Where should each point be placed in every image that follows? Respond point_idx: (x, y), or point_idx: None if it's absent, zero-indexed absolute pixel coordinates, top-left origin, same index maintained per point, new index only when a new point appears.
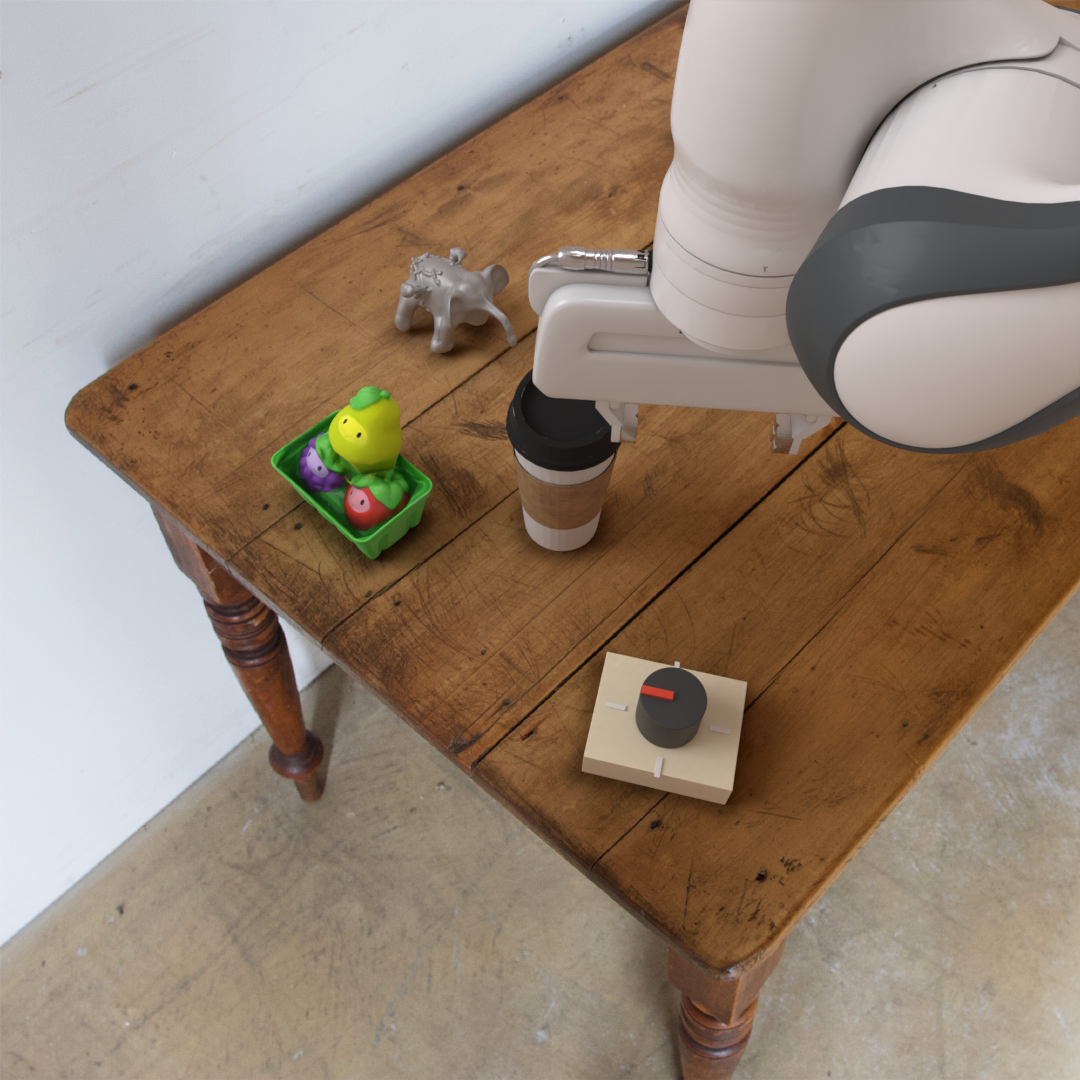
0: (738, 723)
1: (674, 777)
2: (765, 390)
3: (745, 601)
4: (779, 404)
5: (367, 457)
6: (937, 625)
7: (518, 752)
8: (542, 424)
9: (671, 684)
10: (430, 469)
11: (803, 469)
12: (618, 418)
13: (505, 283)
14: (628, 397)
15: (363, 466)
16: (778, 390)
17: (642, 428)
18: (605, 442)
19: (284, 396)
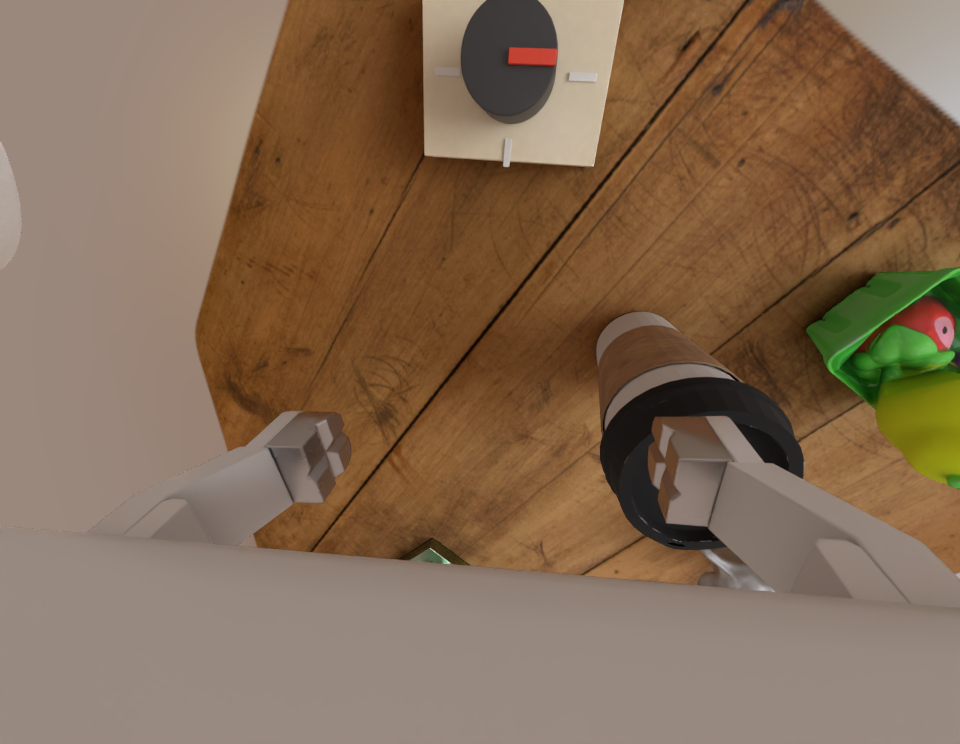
0: (427, 89)
1: None
2: (123, 726)
3: (444, 278)
4: (142, 602)
5: None
6: (276, 278)
7: (705, 7)
8: None
9: (512, 81)
10: (780, 392)
11: (410, 416)
12: (766, 490)
13: (700, 583)
14: (923, 661)
15: (953, 378)
16: (56, 725)
17: (553, 446)
18: (640, 425)
19: None
